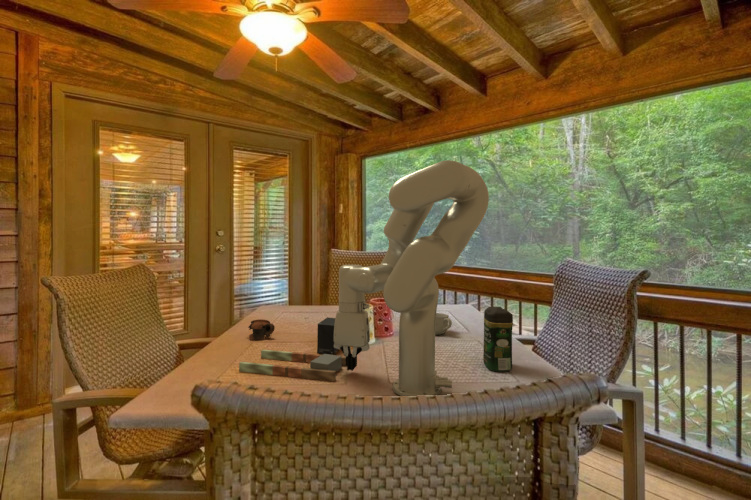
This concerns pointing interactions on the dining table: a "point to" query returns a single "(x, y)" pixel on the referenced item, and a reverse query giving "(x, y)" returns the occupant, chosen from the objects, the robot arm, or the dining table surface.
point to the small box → (326, 337)
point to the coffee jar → (498, 339)
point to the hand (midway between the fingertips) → (351, 368)
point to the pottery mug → (260, 329)
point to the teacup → (442, 323)
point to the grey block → (326, 362)
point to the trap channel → (288, 370)
